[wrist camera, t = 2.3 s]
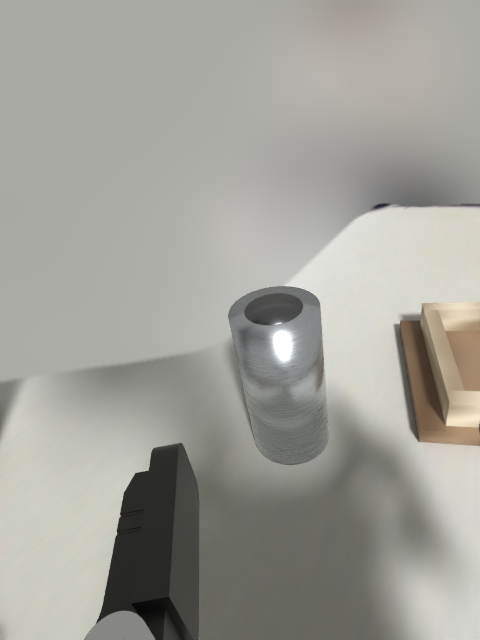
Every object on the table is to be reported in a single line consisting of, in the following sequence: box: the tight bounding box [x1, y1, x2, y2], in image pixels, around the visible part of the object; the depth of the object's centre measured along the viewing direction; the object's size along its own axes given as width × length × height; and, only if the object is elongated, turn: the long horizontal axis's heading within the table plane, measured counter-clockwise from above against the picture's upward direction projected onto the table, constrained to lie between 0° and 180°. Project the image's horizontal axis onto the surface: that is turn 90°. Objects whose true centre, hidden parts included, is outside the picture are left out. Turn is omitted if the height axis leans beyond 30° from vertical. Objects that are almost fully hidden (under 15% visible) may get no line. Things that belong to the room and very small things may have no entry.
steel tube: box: [228, 286, 329, 465], centre depth 24 cm, size 5×5×10 cm
